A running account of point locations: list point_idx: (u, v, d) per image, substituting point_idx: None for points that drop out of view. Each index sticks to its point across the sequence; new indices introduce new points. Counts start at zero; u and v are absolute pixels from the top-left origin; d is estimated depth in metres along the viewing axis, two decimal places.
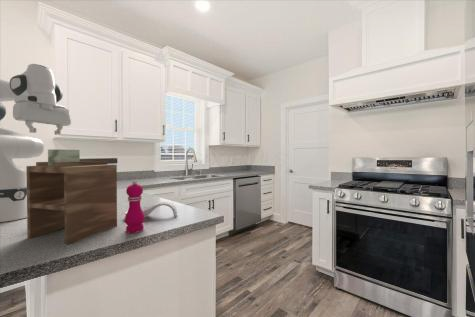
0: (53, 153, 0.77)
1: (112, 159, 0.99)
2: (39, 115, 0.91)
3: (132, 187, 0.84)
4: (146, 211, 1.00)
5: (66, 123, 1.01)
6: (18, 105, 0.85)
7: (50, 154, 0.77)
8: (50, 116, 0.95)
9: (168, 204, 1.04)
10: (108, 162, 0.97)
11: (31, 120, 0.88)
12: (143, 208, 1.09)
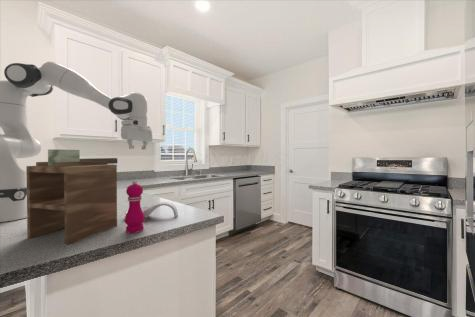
0: (53, 153, 0.77)
1: (112, 159, 0.99)
2: (136, 135, 1.13)
3: (132, 187, 0.84)
4: (146, 211, 1.00)
5: (150, 140, 1.23)
6: (126, 128, 1.07)
7: (50, 154, 0.77)
8: (142, 135, 1.17)
9: (169, 204, 1.04)
10: (108, 162, 0.97)
11: (132, 139, 1.10)
12: (144, 208, 1.09)
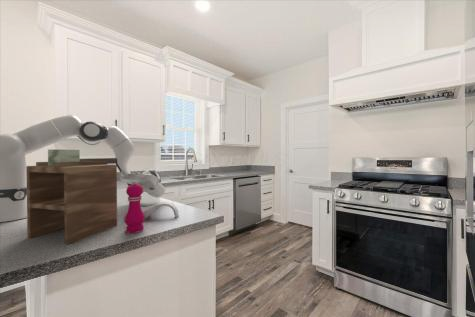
0: (53, 153, 0.77)
1: (112, 159, 0.99)
2: (141, 181, 1.15)
3: (132, 187, 0.84)
4: (147, 211, 1.00)
5: (123, 179, 1.17)
6: (155, 183, 1.16)
7: (50, 154, 0.77)
8: None
9: (169, 204, 1.03)
10: (108, 162, 0.97)
11: (143, 179, 1.12)
12: (145, 208, 1.09)
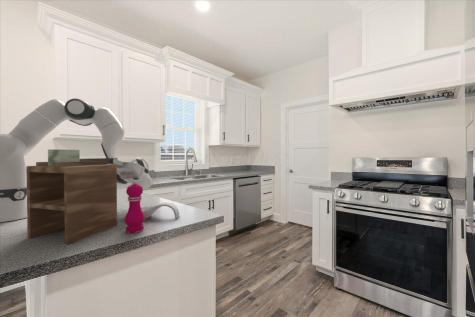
0: (53, 153, 0.77)
1: None
2: (123, 170, 1.04)
3: (132, 187, 0.84)
4: (147, 211, 1.00)
5: None
6: (139, 172, 1.04)
7: (50, 154, 0.77)
8: (117, 170, 1.05)
9: (169, 205, 1.02)
10: (108, 162, 0.97)
11: (125, 167, 1.01)
12: (147, 208, 1.09)
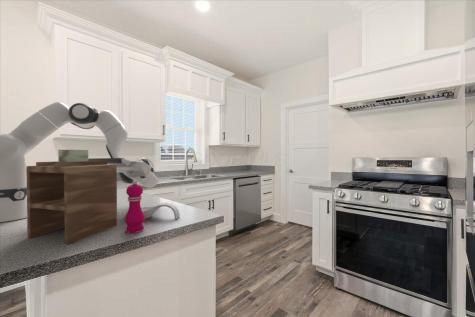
0: (64, 153, 0.80)
1: (118, 159, 1.03)
2: (131, 169, 1.08)
3: (132, 187, 0.84)
4: (147, 211, 0.99)
5: None
6: (146, 171, 1.09)
7: (60, 154, 0.81)
8: (125, 169, 1.10)
9: (169, 205, 1.02)
10: (114, 162, 1.01)
11: (133, 166, 1.05)
12: (148, 208, 1.09)
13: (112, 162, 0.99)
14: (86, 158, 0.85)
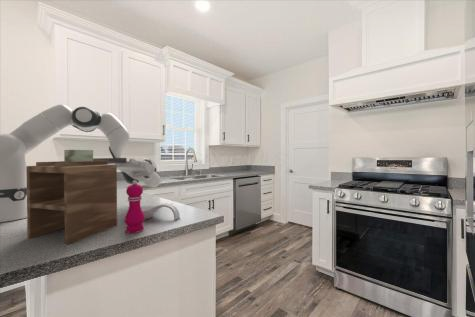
0: (69, 153, 0.82)
1: (122, 159, 1.05)
2: (136, 169, 1.11)
3: (132, 187, 0.84)
4: (147, 212, 0.99)
5: None
6: (150, 171, 1.12)
7: (66, 154, 0.83)
8: (129, 169, 1.13)
9: (169, 206, 1.00)
10: (118, 162, 1.03)
11: (137, 166, 1.09)
12: (150, 208, 1.09)
13: (116, 162, 1.01)
14: (91, 158, 0.87)
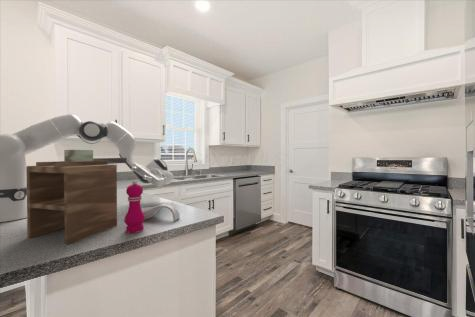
0: (69, 153, 0.82)
1: (122, 159, 1.05)
2: None
3: (132, 187, 0.84)
4: (146, 212, 0.99)
5: None
6: (161, 185, 1.21)
7: (66, 154, 0.83)
8: None
9: (168, 207, 0.99)
10: (118, 162, 1.03)
11: (150, 181, 1.17)
12: (151, 208, 1.08)
13: (116, 162, 1.01)
14: (91, 158, 0.87)
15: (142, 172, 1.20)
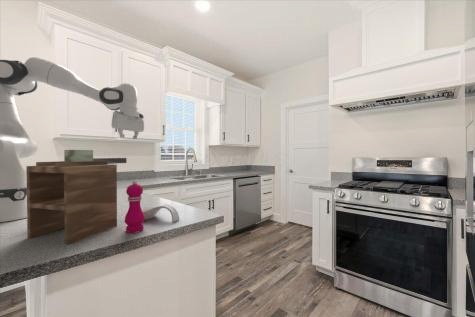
0: (69, 153, 0.82)
1: (122, 159, 1.05)
2: None
3: (132, 187, 0.84)
4: (146, 212, 0.98)
5: None
6: None
7: (66, 154, 0.83)
8: None
9: (167, 207, 0.98)
10: (118, 162, 1.03)
11: None
12: None
13: (116, 162, 1.01)
14: (91, 158, 0.87)
15: None
